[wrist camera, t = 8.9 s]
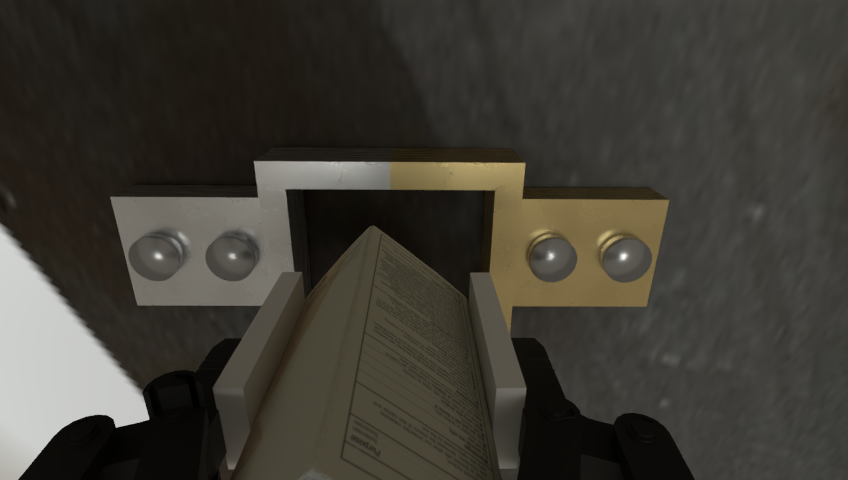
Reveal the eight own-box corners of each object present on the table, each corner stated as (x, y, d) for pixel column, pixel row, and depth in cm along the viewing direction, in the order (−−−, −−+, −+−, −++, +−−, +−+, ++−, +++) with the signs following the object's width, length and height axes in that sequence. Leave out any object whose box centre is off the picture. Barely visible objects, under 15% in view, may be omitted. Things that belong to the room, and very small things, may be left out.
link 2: (396, 317, 26) (393, 349, 23) (393, 148, 23) (390, 162, 20) (624, 318, 26) (648, 349, 24) (657, 149, 23) (690, 164, 20)
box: (304, 295, 19) (156, 597, 8) (373, 218, 17) (296, 463, 7) (405, 368, 20) (382, 707, 10) (476, 302, 19) (535, 609, 9)
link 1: (164, 317, 26) (134, 349, 23) (125, 146, 23) (84, 159, 20) (396, 317, 26) (393, 349, 23) (393, 148, 23) (390, 162, 20)
